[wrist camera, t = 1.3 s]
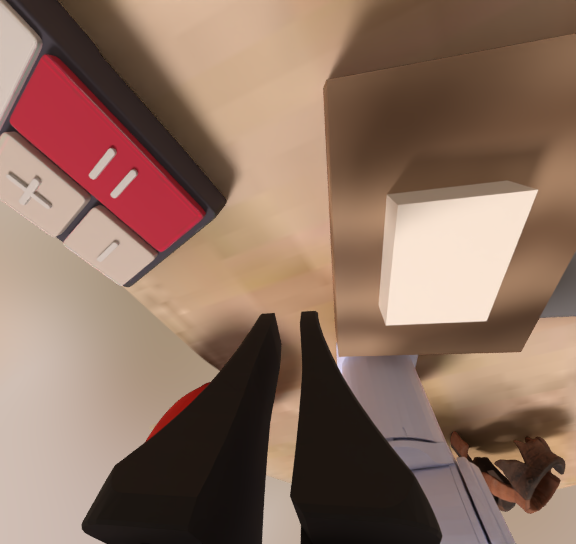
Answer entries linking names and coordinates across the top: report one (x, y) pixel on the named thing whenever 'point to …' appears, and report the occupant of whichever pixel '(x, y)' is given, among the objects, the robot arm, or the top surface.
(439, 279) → the tile
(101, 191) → the calculator
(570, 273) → the mat
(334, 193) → the block
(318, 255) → the top surface
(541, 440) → the pottery mug
